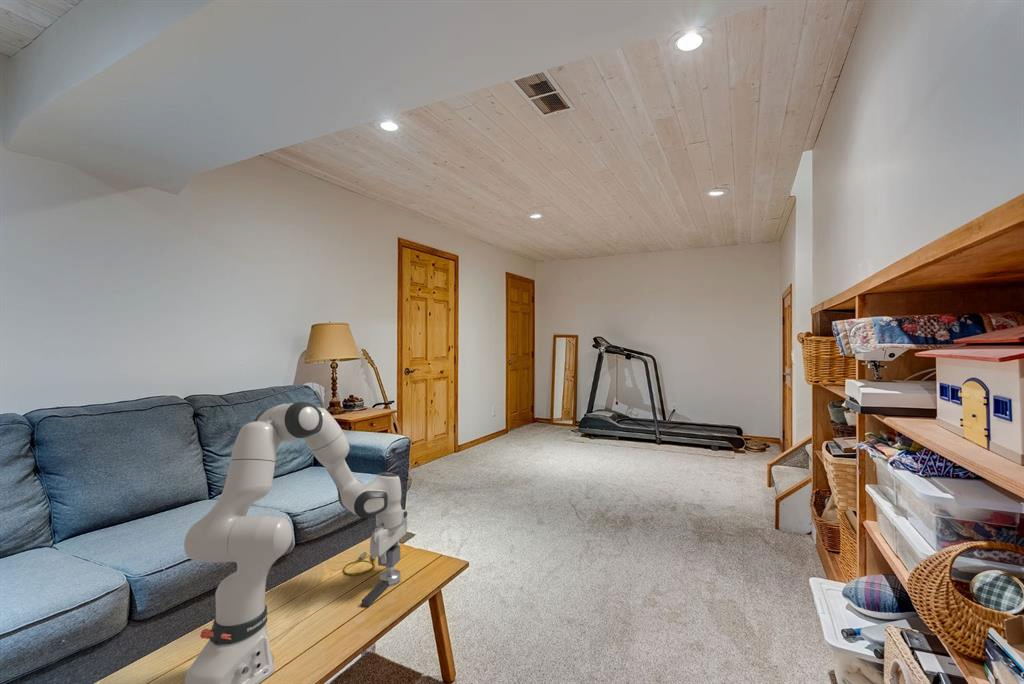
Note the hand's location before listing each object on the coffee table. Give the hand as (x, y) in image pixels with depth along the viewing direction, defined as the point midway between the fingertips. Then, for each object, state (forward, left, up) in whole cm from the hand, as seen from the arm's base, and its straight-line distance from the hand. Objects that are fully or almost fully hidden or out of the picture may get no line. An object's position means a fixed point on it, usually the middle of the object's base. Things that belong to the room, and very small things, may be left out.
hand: (389, 558), depth 162 cm
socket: (0, 0, -2) cm, 2 cm away
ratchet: (-6, 0, -8) cm, 10 cm away
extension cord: (+8, +16, -9) cm, 20 cm away
